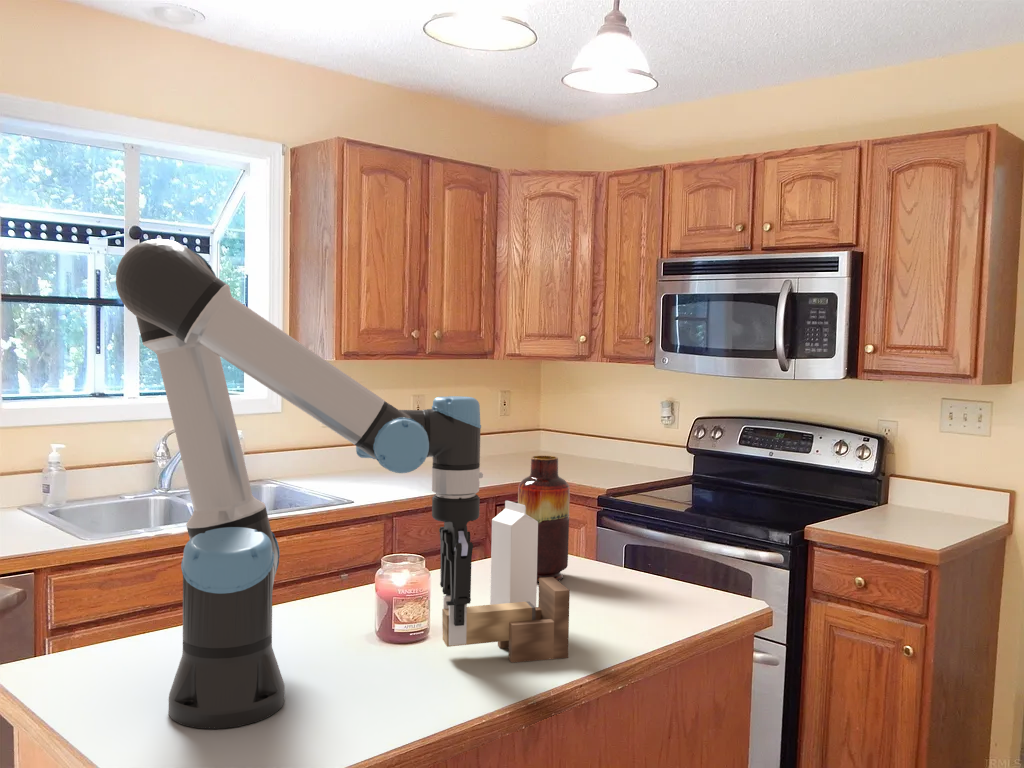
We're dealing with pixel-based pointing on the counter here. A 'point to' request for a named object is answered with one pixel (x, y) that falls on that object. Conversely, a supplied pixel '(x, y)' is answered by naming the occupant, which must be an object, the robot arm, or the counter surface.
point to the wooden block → (490, 621)
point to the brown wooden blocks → (542, 627)
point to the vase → (548, 514)
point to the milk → (514, 556)
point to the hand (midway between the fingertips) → (454, 639)
